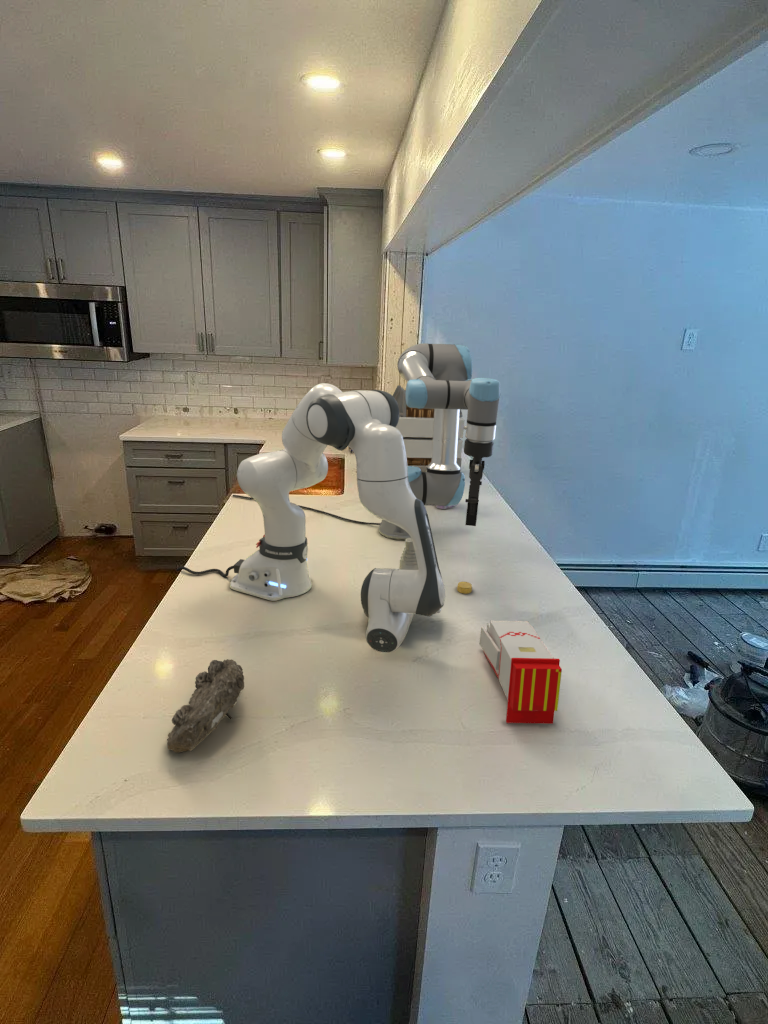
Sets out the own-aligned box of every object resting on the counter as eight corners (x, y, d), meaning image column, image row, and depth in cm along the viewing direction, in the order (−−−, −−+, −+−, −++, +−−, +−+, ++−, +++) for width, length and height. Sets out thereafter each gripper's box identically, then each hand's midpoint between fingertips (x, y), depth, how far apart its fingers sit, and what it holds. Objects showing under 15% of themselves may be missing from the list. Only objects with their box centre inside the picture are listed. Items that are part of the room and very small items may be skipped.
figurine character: (360, 456, 306) (360, 446, 319) (360, 443, 303) (361, 433, 316) (347, 455, 306) (348, 446, 319) (348, 442, 302) (349, 433, 316)
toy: (526, 605, 135) (570, 665, 105) (521, 658, 137) (563, 730, 108) (475, 604, 134) (506, 664, 105) (472, 657, 137) (500, 729, 108)
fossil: (192, 660, 117) (244, 628, 112) (224, 691, 120) (276, 661, 115) (142, 746, 98) (202, 712, 93) (182, 779, 101) (242, 748, 96)
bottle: (414, 611, 149) (419, 544, 143) (395, 608, 150) (399, 542, 144) (418, 602, 154) (422, 537, 147) (399, 599, 155) (403, 534, 148)
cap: (474, 592, 161) (475, 586, 160) (462, 594, 159) (462, 589, 158) (466, 586, 164) (466, 580, 164) (454, 588, 162) (454, 582, 162)
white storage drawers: (382, 463, 289) (386, 382, 275) (445, 464, 293) (451, 384, 279) (390, 482, 257) (394, 392, 243) (460, 483, 261) (468, 394, 247)
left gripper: (440, 602, 135) (448, 577, 147) (358, 589, 139) (372, 566, 152) (438, 625, 137) (446, 599, 150) (357, 612, 141) (372, 587, 154)
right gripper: (466, 428, 159) (459, 499, 166) (462, 450, 136) (454, 531, 143) (493, 430, 158) (485, 502, 165) (494, 453, 135) (484, 535, 142)
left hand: (409, 582), depth 151 cm, fingers open, 8 cm apart
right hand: (471, 516), depth 154 cm, fingers open, 13 cm apart
